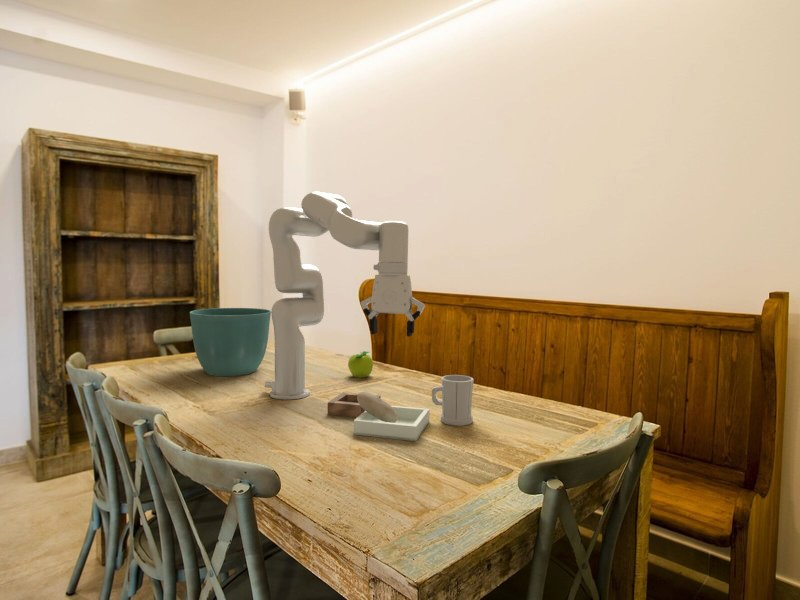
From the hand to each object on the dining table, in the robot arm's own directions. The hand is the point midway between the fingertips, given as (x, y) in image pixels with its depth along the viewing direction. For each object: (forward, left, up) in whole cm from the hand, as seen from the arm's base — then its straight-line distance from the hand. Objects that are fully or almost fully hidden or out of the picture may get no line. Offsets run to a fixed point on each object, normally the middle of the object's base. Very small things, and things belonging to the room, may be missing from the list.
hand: (391, 334), depth 131 cm
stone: (+1, -2, -24) cm, 24 cm away
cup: (+16, +9, -25) cm, 30 cm away
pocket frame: (-14, +10, -24) cm, 30 cm away
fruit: (-27, +52, -24) cm, 63 cm away
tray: (+1, -2, -24) cm, 24 cm away
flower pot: (-78, +45, -25) cm, 93 cm away
